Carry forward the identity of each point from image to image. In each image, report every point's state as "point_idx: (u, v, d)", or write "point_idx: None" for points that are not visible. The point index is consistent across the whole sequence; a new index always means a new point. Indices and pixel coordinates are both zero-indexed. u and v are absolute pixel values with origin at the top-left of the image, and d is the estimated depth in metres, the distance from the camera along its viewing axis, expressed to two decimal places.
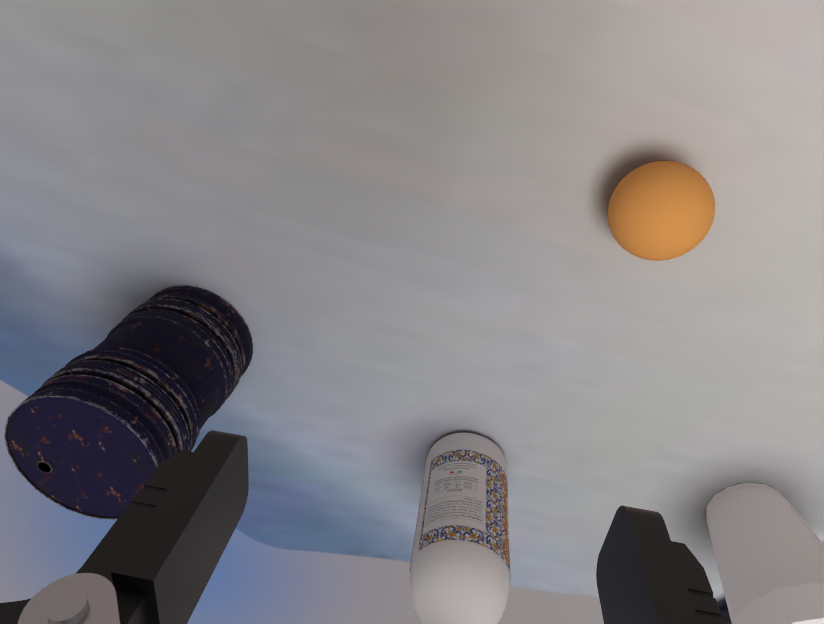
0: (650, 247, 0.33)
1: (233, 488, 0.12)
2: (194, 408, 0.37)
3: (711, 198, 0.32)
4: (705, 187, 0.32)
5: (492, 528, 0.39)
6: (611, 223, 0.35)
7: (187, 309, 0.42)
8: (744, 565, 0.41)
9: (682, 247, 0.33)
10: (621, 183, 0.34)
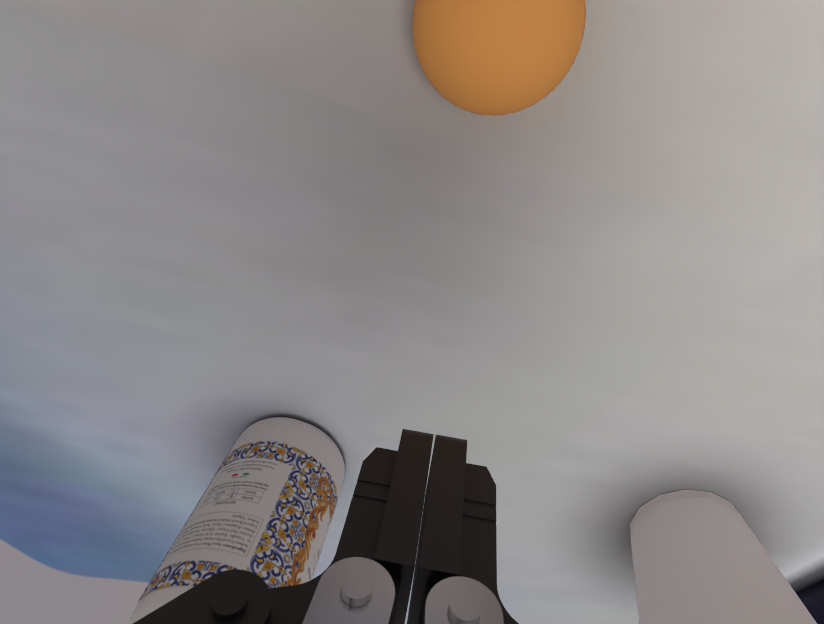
0: (468, 76, 0.18)
1: None
2: None
3: None
4: None
5: (261, 565, 0.25)
6: (415, 47, 0.20)
7: None
8: (666, 620, 0.26)
9: (522, 73, 0.18)
10: None
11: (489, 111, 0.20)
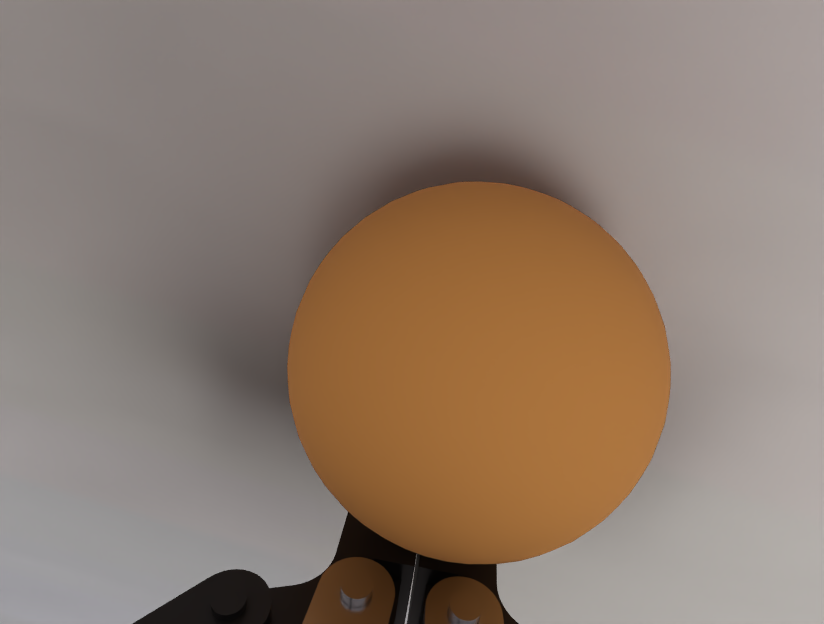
0: (449, 270, 0.07)
1: None
2: None
3: None
4: None
5: None
6: (292, 345, 0.08)
7: None
8: None
9: (589, 279, 0.07)
10: None
11: (504, 426, 0.06)
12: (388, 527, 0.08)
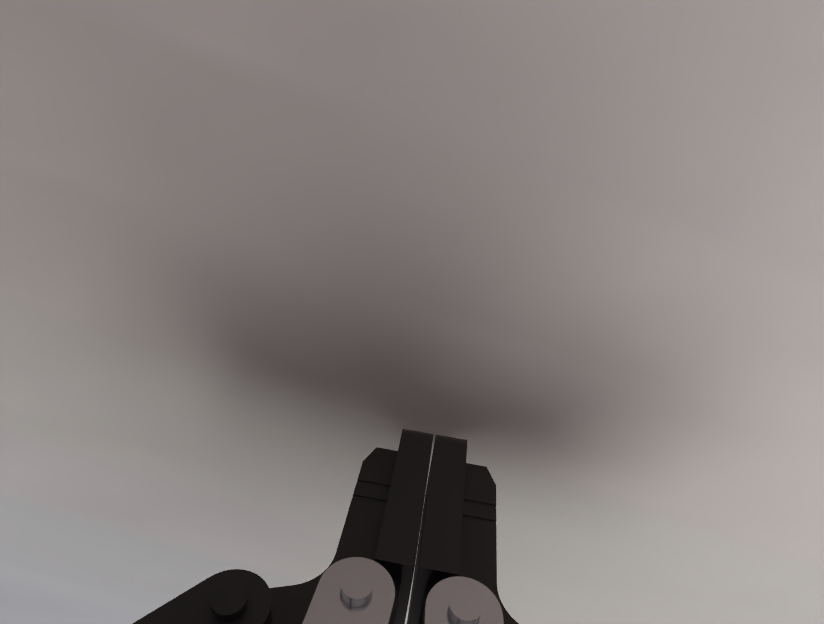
0: None
1: None
2: None
3: None
4: None
5: None
6: None
7: None
8: None
9: None
10: None
11: None
12: None
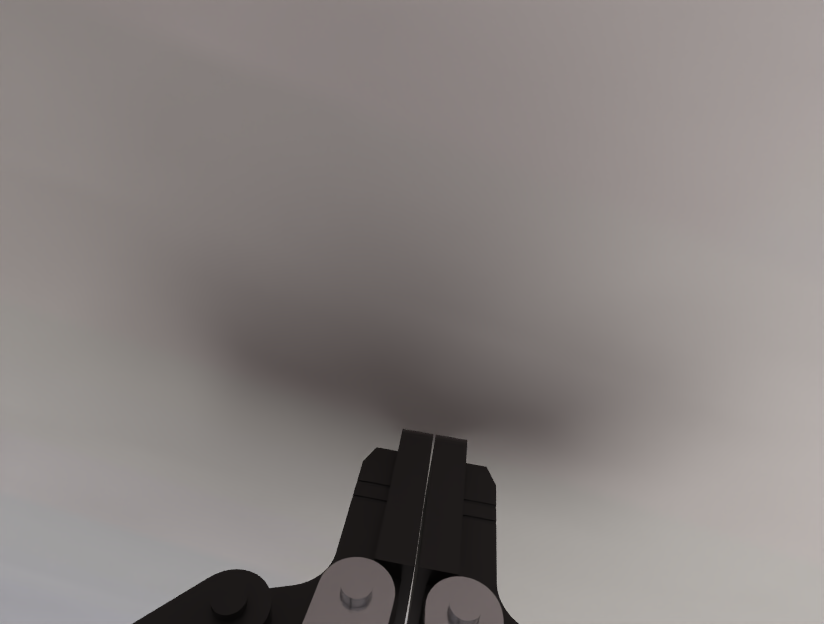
0: None
1: None
2: None
3: None
4: None
5: None
6: None
7: None
8: None
9: None
10: None
11: None
12: None
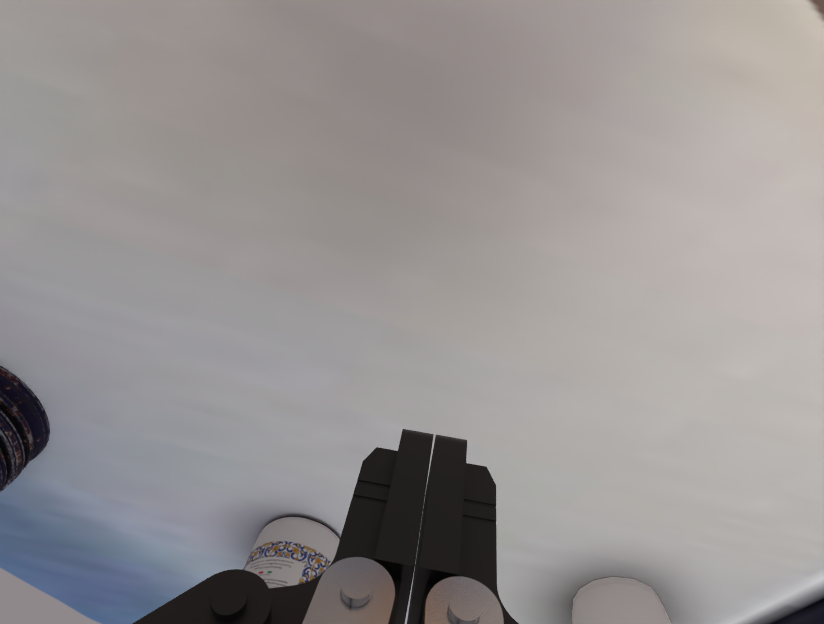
0: None
1: None
2: None
3: None
4: None
5: None
6: None
7: None
8: None
9: None
10: None
11: None
12: None
